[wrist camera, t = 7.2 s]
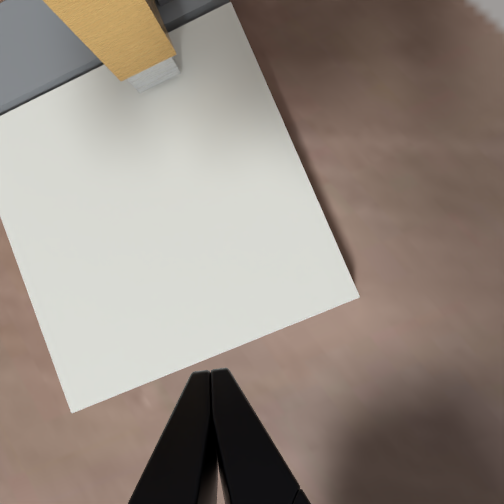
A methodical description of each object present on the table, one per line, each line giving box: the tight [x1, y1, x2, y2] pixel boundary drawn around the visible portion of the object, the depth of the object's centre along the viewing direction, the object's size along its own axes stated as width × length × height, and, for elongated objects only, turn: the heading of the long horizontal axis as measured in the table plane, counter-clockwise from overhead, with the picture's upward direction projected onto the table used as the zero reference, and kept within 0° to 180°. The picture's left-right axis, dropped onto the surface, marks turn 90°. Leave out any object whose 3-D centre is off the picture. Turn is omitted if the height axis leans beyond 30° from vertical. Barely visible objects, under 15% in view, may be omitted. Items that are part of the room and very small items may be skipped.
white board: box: [0, 0, 360, 413], centre depth 20 cm, size 22×16×5 cm
